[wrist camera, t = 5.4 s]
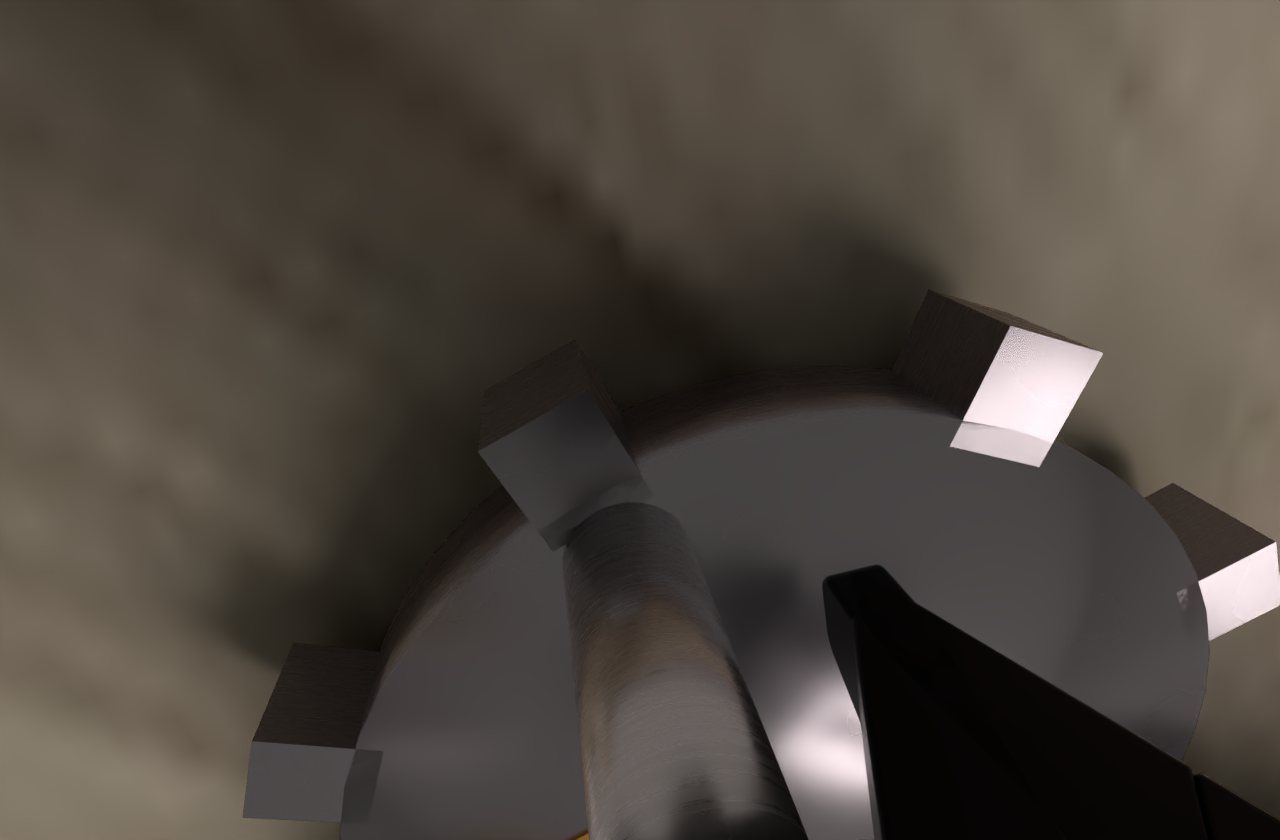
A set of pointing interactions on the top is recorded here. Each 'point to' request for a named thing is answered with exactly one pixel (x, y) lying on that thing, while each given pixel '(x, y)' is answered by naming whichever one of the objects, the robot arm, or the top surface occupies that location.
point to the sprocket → (748, 597)
